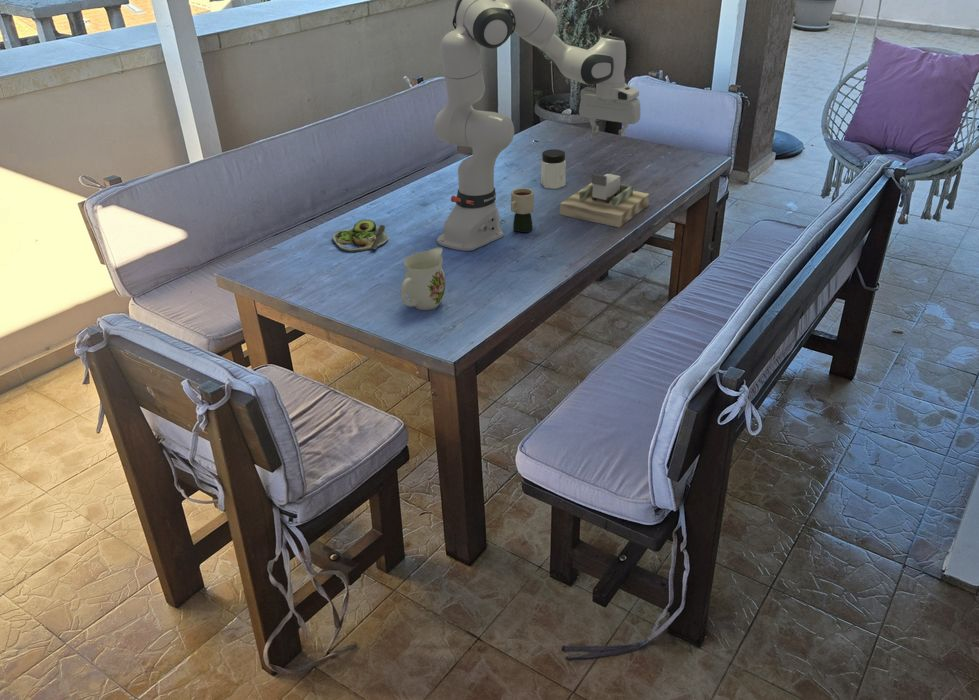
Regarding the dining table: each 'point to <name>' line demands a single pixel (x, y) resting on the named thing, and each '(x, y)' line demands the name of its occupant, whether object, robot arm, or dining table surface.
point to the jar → (553, 169)
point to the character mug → (522, 208)
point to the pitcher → (424, 280)
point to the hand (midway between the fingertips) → (608, 133)
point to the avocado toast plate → (361, 236)
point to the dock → (605, 206)
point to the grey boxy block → (605, 186)
